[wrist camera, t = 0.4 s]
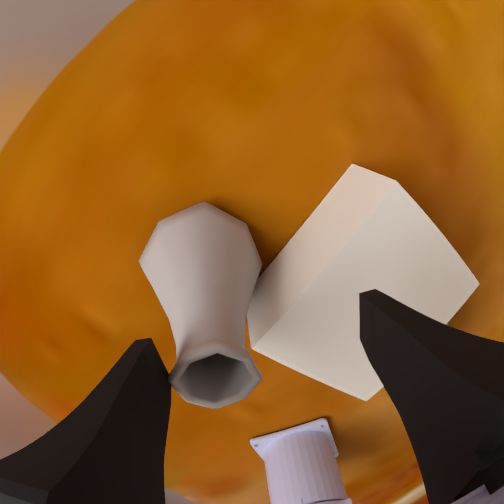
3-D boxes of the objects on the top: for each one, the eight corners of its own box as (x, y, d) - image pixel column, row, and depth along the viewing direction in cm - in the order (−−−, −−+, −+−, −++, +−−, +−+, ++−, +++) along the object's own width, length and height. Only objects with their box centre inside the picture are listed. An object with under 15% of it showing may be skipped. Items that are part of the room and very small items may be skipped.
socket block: (438, 253, 21) (481, 286, 16) (346, 354, 24) (369, 402, 19) (352, 163, 18) (396, 180, 13) (244, 295, 21) (251, 348, 16)
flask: (205, 177, 17) (224, 249, 8) (280, 261, 21) (346, 370, 12) (119, 258, 18) (77, 377, 9) (199, 326, 21) (213, 450, 13)
